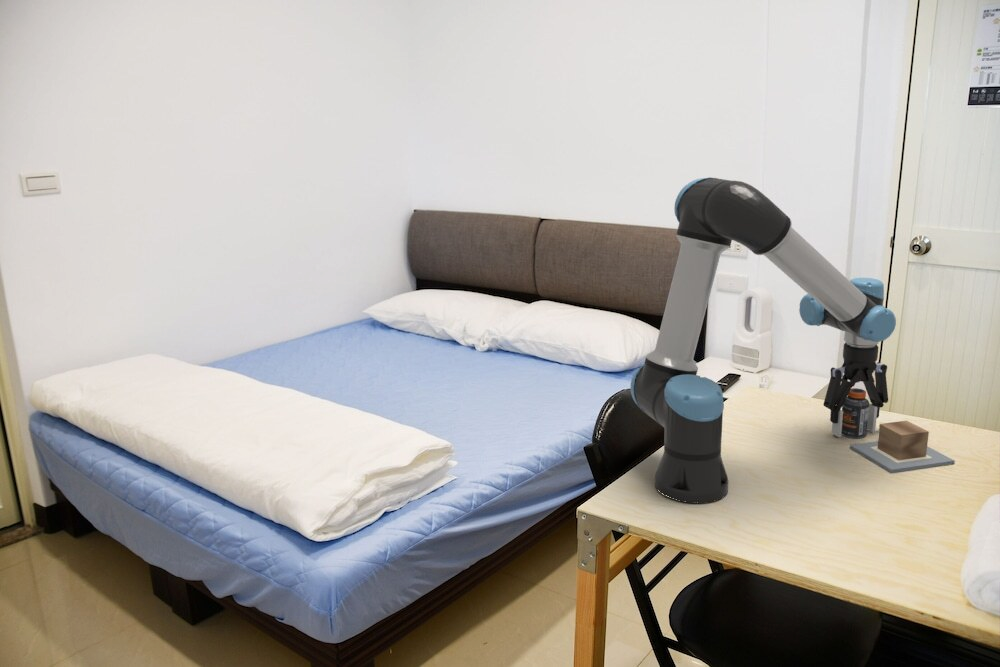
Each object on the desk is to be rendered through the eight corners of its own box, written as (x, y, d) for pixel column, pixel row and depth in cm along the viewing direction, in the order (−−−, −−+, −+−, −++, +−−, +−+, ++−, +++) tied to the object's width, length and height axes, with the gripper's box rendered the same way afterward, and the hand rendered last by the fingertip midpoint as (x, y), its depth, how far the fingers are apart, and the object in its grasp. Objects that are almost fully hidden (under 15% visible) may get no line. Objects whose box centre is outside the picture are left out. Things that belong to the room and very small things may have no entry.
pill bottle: (834, 432, 191) (837, 388, 188) (851, 427, 194) (855, 384, 191) (854, 440, 186) (858, 396, 183) (872, 435, 188) (876, 391, 186)
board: (891, 473, 169) (891, 469, 169) (849, 448, 182) (850, 444, 182) (954, 463, 172) (954, 460, 172) (909, 440, 185) (909, 436, 185)
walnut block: (898, 460, 173) (901, 435, 171) (877, 448, 180) (879, 423, 178) (925, 456, 174) (928, 431, 173) (903, 444, 181) (906, 420, 179)
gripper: (830, 352, 178) (823, 443, 184) (911, 343, 182) (902, 433, 188) (811, 343, 185) (804, 432, 191) (889, 335, 190) (881, 422, 196)
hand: (853, 432), depth 190 cm, fingers open, 9 cm apart
